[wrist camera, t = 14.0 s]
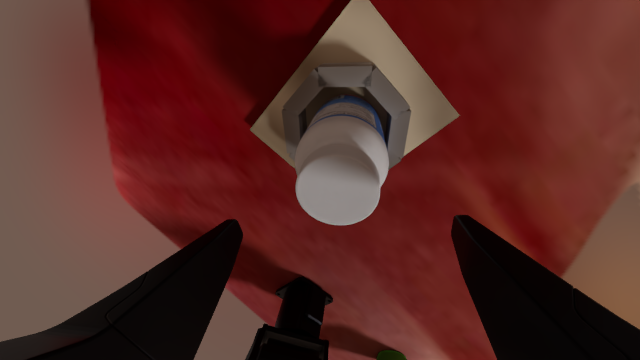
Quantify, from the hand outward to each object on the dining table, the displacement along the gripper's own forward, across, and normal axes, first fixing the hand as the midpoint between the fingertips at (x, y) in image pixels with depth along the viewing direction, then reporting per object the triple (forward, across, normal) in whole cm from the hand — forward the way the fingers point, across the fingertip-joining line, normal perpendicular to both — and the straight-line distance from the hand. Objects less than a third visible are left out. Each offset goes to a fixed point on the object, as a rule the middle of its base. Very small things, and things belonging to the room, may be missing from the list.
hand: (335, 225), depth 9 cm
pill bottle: (+12, 0, 0) cm, 12 cm away
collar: (+12, 0, -1) cm, 12 cm away
